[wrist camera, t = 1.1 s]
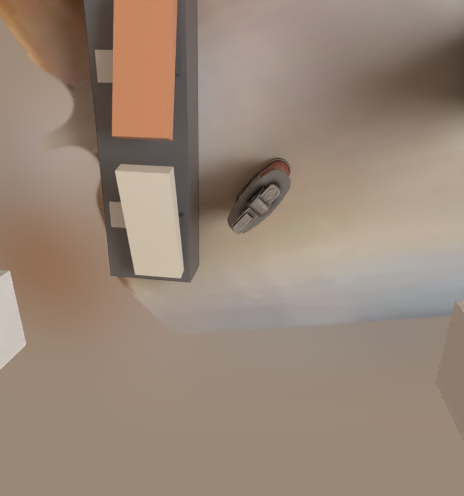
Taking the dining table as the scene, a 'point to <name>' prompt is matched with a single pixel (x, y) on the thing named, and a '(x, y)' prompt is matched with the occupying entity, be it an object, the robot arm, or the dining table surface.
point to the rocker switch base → (142, 150)
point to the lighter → (260, 196)
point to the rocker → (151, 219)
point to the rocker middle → (144, 69)
